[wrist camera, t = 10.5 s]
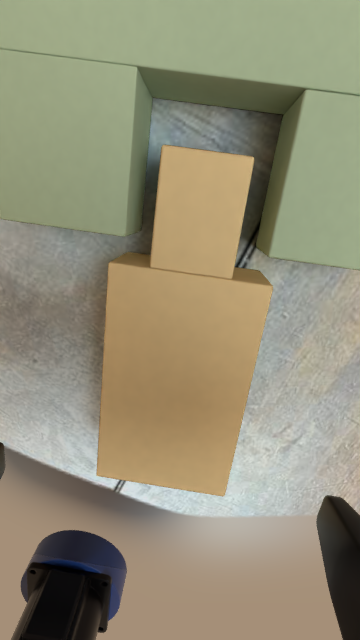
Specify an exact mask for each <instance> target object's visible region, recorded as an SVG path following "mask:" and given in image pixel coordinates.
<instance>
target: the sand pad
mask: <svg viewBox="0 0 360 640" xmlns="http://www.w3.org/2000/svg"><path fill="white" fill-rule="evenodd" d="M253 165H254V157H252V156H245V155H238V154H230V153H223V152H215V151H208V150H201V149H193V148H186V147H178V146H171V145H162V148H161V157H160V167H159V177H158V187H157V197H156V207H155V217H154V227H153V237H152V247H151V255H146V254H139V253H132V252H127V253H125V254H123V255H121V256H120V257H118V258H116V259H114V260H113V261H111V262H109V264H108V280H107V298H106V316H105V333H104V351H103V369H102V387H101V405H100V423H99V440H98V458H97V476H101V477H107V478H113V479H119V480H125V481H131V482H138V483H144V484H150V485H156V486H162V487H168V488H174V489H181V490H187V491H193V492H199V493H205V494H211V495H217V496H224V495H225V492H226V487H227V483H228V479H229V475H230V470H231V466H232V462H233V457H234V453H235V449H236V445H237V440H238V436H239V432H240V428H241V423H242V419H243V415H244V410H245V406H246V402H247V398H248V393H249V389H250V385H251V381H252V376H253V372H254V368H255V363H256V359H257V355H258V351H259V346H260V342H261V338H262V334H263V329H264V325H265V321H266V316H267V312H268V308H269V304H270V299H271V295H272V291H273V286H272V285H271V283H270V282H269V281H268V280H267V279H266V278H265V276H264V275H263V274H262V273H261V272H260V271H258V270H251V269H244V268H237V267H234V266H235V261H236V255H237V250H238V245H239V239H240V234H241V229H242V223H243V218H244V213H245V207H246V202H247V197H248V191H249V186H250V181H251V175H252V170H253Z"/></svg>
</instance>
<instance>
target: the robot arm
mask: <svg viewBox="0 0 360 640" xmlns="http://www.w3.org/2000/svg"><path fill="white" fill-rule="evenodd" d="M4 470H5V453H4V445H3V443H1V442H0V479H1V477H2V475H3V473H4ZM317 530H318V535H319V540H320V545H321V551H322V556H323V561H324V567H325V572H326V577H327V582H328V587H329V591H330V595H331V599H332V603H333V606H334V610H335V613H336V616H337V620H338V624H339V627H340V631H341V634H342V638H343V640H360V515H359V514H358V513H357V512H356V511H355V510H354V509H353V508H352V507H351V506H350V505H349V504H348V503H347V502H346V501H345V500H344V499H342V498H340V497H336V496H330V495H327V496H325V497H324V499H323V502H322V505H321V507H320V510H319V513H318V515H317ZM111 585H112V578H111V576H109V575H107V574H102V573H96V572H91V571H85V570H79V569H73V568H67V567H61V566H55V565H50V564H44V563H38V562H31V563H30V564H29V566H28V568H27V593H28V603H27V605H26V607H25V610H24V612H23V614H22V616H21V618H20V621H19V623H18V625H17V628H16V630H15V632H14V634H13V636H12V638H11V640H96V636H97V632H100V633H103V632H106V630H107V626H108V618H109V607H110V596H111Z"/></svg>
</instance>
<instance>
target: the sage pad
mask: <svg viewBox="0 0 360 640" xmlns="http://www.w3.org/2000/svg"><path fill="white" fill-rule="evenodd" d="M152 97H153V98H161V99H169V100H176V101H184V102H191V103H199V104H207V105H214V106H222V107H229V108H237V109H245V110H252V111H260V112H267V113H275V114H283V117H282V121H281V126H280V131H279V136H278V141H277V146H276V150H275V155H274V160H273V165H272V170H271V175H270V179H269V184H268V189H267V194H266V199H265V204H264V209H263V213H262V218H261V223H260V228H259V233H258V238H257V242H256V247H257V248H258V249H259V250H261V251H262V252H263V253H264V254H266V255H267V256H268V257H270V258H277V259H284V260H291V261H298V262H304V263H311V264H318V265H325V266H332V267H339V268H346V269H353V270H360V0H0V219H3V220H10V221H17V222H24V223H31V224H38V225H45V226H52V227H59V228H66V229H73V230H80V231H87V232H94V233H101V234H108V235H115V236H122V237H125V236H128V235H131V234H133V233H136V232H139V231H141V225H142V213H143V202H144V190H145V179H146V168H147V156H148V145H149V133H150V122H151V111H152Z"/></svg>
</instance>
